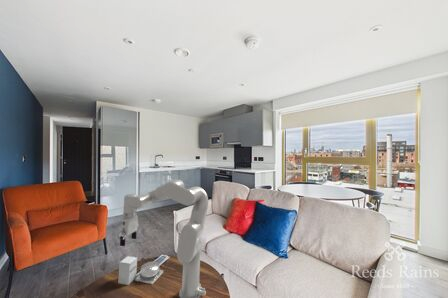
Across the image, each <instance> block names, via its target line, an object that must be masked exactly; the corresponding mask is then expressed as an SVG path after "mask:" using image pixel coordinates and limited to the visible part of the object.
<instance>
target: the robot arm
mask: <svg viewBox="0 0 448 298" xmlns="http://www.w3.org/2000/svg"><path fill="white" fill-rule="evenodd" d="M167 199H171V200H173V201H175V202H177V203H180V204H182V205H183V206H192V205H193V207H192V209H191V214H190V217H189V221H188V222H187V223H186V224H185V225H184V226H182V229H181V230H180V234H179V239H178V242H177V248H176V258H177V260H178V261H179V262H180V263H182V278H181V279H182V283H181V288H180V289H179V293H178V297H179V298H201V296H206V293H207V291H206V288H205V287H202V283H200V270H201V269H200V267H201V256H202V255H201V254H202V249H203V248H202V246H203V245H202V240H201V238H200V236H201V235H202V234H203V231H204V228H205V221H206V218H207V213H208V212H207V211H208V208H209V197H208V194H207V192H206V191H205V190H204V188H202V187H200V186H192V187H190V188H186V186H185V183H184V182H183V180H182V179H174V180H173V179H172V180H169V181H167V182H166V183H164V184H162V185H160V186H157V187H156V188H155V189H154V190H152V191H149V192H147V193H143V194H140V195H137V194H136V193H127V194H125V195H124V197H123V209H122V210H123V211H122V220H121V224H120V225H121V226H120V231H119V232H118V233H117V237H118V239H119V246H120V247H125V246H126V237H127V236H130V235H131V237H130V238H131V239H134V240H137V235H138V234H137V232H138V230H139V226H140V223H139V218H138V214H137V213H138V210H139V209H142V208H144V207H147V206H150V205H152V204H154V203H157V202H159V201H165V200H167Z"/></svg>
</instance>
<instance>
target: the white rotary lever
mask: <svg viewBox="0 0 448 298" xmlns="http://www.w3.org/2000/svg"><path fill="white" fill-rule="evenodd" d="M162 274H164V270H163V269H160V263H159V262H157V261H148V262H147V261H146V262H145V263H143V264H142V265H141V266H140V273H139V275H138V276H136V278H135V279H134V280H135V281H136V282H139V281H140V283H145V284H149V285H153V284H154V283H155V282H156V281H157V280H158V279H159V277H160V276H161V275H162Z"/></svg>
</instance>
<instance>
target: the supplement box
mask: <svg viewBox="0 0 448 298" xmlns="http://www.w3.org/2000/svg"><path fill="white" fill-rule="evenodd" d="M118 264H119V265H118V278H117V279H118V282H117V283H118V284H121V285H126V286H129V285H130V284H131V283H132V282H133V281H134V280H135V279H136V278H137V269H138V257H137V256H136V257H135V256H128V255H127V256H126V257H124V258H123V259H121V260H120V261H119V262H118Z"/></svg>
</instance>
